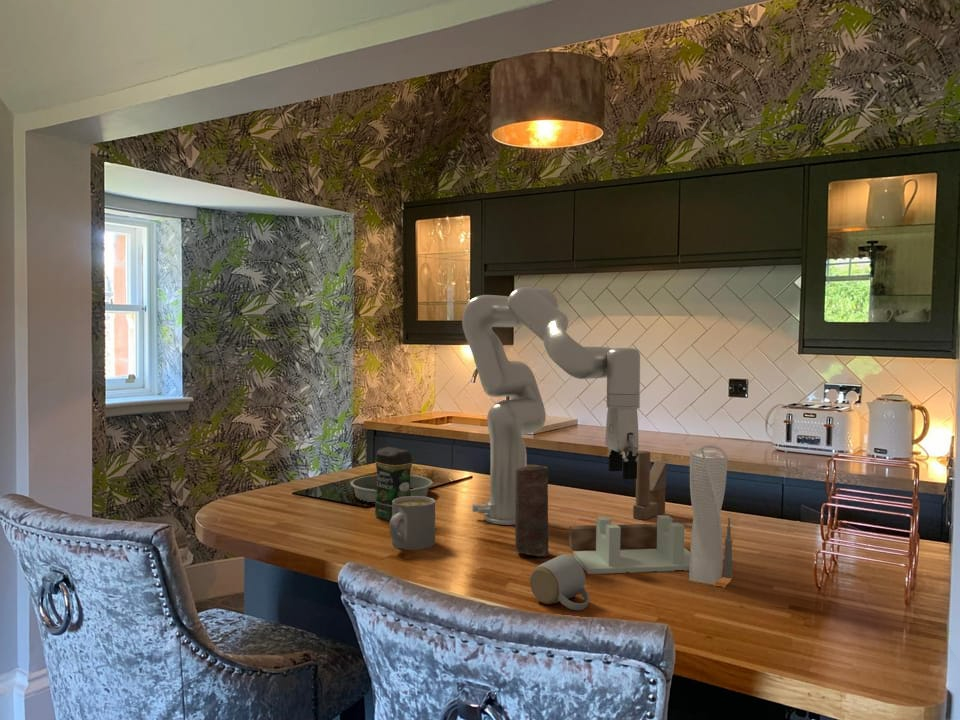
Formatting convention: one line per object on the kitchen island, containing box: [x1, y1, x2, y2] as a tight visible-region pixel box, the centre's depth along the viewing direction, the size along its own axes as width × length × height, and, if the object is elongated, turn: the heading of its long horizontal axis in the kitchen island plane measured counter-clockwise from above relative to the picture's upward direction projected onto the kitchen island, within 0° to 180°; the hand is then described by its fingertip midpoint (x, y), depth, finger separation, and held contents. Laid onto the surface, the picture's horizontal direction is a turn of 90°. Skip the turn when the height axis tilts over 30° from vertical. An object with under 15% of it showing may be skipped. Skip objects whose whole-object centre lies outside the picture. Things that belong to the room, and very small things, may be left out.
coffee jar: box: [374, 446, 413, 521], centre depth 190 cm, size 10×8×19 cm
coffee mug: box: [388, 496, 436, 551], centre depth 166 cm, size 13×10×10 cm
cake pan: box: [349, 474, 434, 504], centre depth 216 cm, size 25×25×4 cm
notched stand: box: [572, 514, 690, 575], centre depth 155 cm, size 26×12×9 cm, turn 98°
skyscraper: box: [688, 445, 733, 585], centre depth 144 cm, size 8×8×28 cm
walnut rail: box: [568, 523, 657, 551], centre depth 167 cm, size 24×2×5 cm, turn 98°
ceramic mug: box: [529, 553, 591, 611], centre depth 132 cm, size 11×8×8 cm
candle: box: [514, 463, 549, 557], centre depth 160 cm, size 8×7×20 cm
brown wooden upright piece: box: [632, 450, 667, 521], centre depth 195 cm, size 4×11×18 cm, turn 135°
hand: (622, 474), depth 167 cm, fingers open, 9 cm apart
